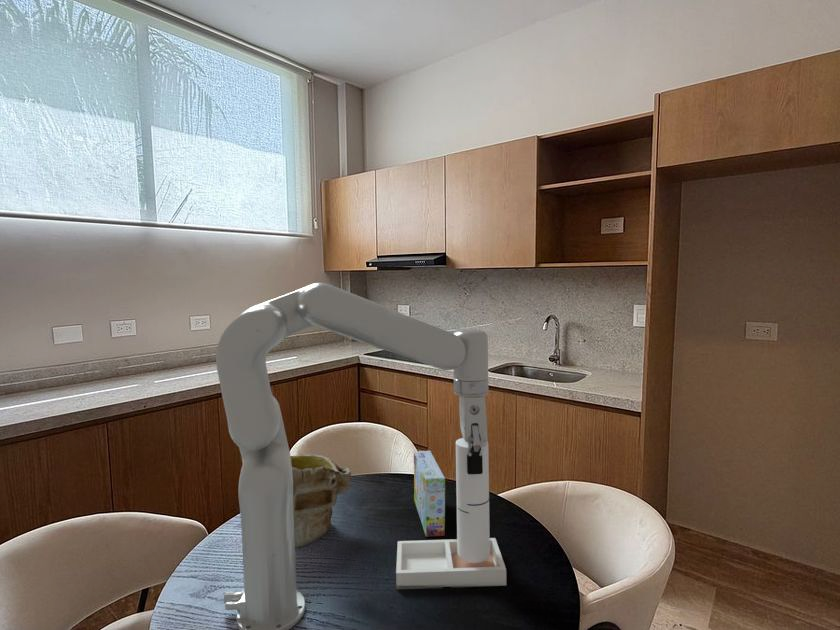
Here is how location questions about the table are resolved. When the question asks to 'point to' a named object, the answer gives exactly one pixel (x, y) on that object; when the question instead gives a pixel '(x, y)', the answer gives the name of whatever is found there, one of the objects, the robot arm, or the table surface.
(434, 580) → the two-bay tray
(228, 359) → the robot arm
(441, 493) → the snack box
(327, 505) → the ceramic vessel
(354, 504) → the table surface
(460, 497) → the cylindrical container
